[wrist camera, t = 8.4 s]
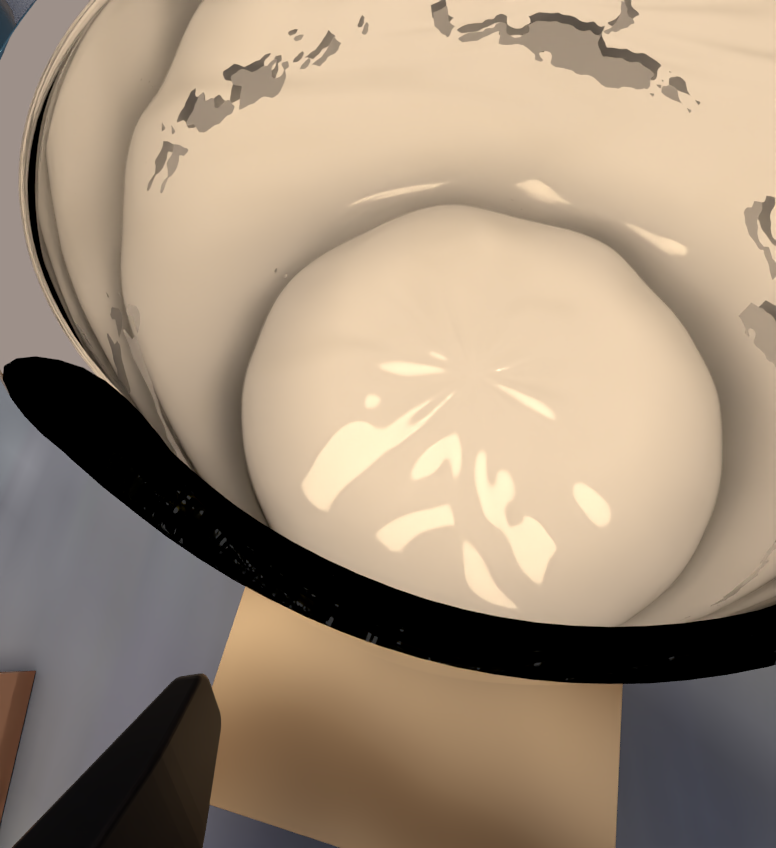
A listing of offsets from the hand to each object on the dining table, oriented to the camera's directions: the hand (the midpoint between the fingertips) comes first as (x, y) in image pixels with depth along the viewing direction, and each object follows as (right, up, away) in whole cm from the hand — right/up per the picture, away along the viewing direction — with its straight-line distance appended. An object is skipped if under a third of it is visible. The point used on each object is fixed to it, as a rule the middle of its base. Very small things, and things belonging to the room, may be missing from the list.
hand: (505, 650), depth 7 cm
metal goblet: (0, 0, +9) cm, 9 cm away
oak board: (0, -3, +10) cm, 10 cm away
